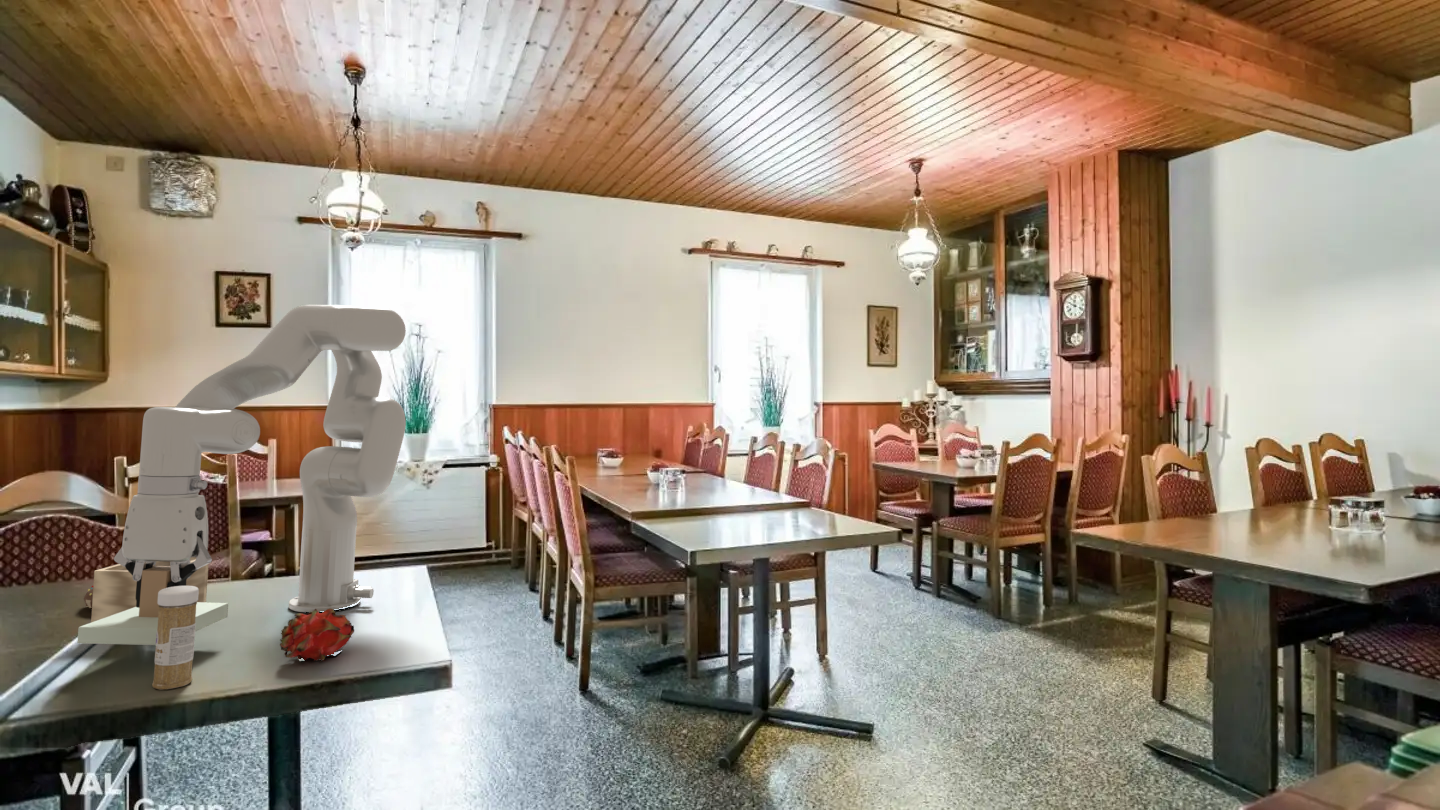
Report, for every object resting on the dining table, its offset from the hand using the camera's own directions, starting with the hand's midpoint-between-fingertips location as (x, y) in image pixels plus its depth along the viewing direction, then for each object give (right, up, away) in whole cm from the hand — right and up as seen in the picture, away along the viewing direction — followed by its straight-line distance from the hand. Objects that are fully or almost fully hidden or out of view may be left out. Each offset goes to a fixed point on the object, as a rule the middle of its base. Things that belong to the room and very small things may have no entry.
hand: (160, 604), depth 109 cm
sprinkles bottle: (+10, -9, -10) cm, 16 cm away
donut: (-26, -8, +26) cm, 38 cm away
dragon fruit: (+22, -10, +3) cm, 25 cm away
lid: (0, -4, 0) cm, 4 cm away
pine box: (-13, -8, +14) cm, 20 cm away
